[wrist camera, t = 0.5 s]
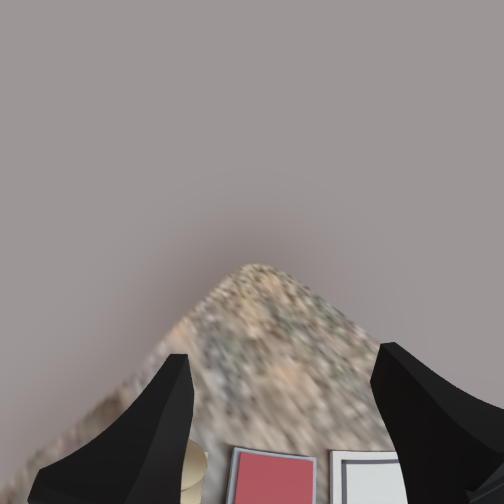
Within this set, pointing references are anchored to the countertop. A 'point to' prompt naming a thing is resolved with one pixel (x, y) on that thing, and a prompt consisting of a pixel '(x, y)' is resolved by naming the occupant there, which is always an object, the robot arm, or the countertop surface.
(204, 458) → the stamp
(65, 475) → the robot arm
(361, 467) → the marked board
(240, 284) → the countertop surface
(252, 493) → the ink pad
